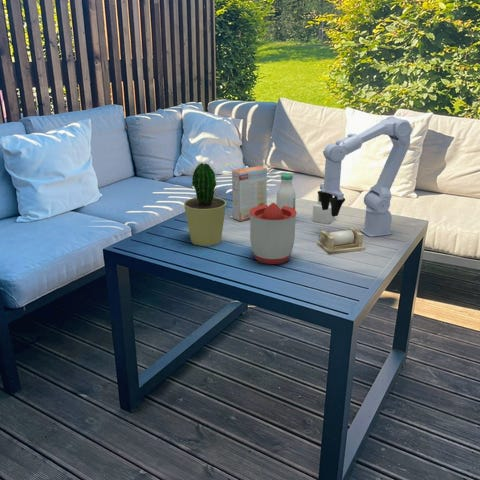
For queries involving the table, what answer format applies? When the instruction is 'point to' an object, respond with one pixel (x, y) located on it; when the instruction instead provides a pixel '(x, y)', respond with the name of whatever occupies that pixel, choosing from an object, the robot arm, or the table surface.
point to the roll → (342, 237)
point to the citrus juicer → (272, 233)
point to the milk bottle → (286, 192)
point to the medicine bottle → (322, 213)
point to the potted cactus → (205, 208)
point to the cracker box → (248, 190)
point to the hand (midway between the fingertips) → (329, 212)
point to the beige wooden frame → (328, 245)
